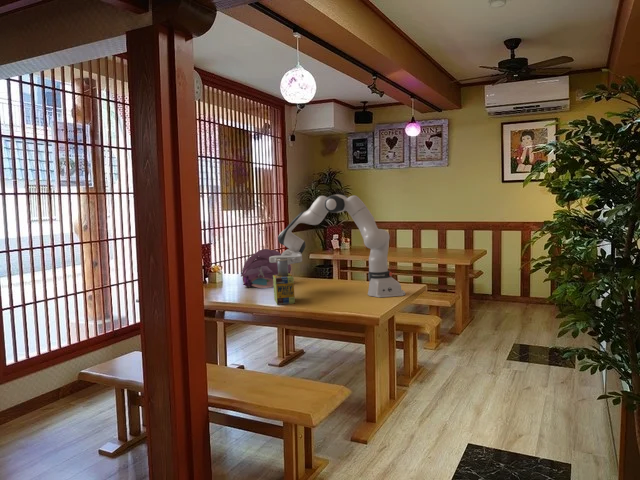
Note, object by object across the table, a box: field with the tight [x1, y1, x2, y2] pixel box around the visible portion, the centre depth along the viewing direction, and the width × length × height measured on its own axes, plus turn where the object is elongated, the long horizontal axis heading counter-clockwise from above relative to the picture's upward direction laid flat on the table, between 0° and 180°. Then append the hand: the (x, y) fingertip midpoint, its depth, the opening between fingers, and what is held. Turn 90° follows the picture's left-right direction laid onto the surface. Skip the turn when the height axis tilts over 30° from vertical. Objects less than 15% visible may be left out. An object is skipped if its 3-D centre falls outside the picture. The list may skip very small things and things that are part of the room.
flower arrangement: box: [240, 248, 292, 289], centre depth 348 cm, size 35×24×28 cm
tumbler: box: [277, 258, 289, 277], centre depth 290 cm, size 6×6×10 cm
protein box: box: [273, 273, 296, 306], centre depth 291 cm, size 10×15×16 cm
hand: (284, 260), depth 298 cm, fingers open, 8 cm apart
